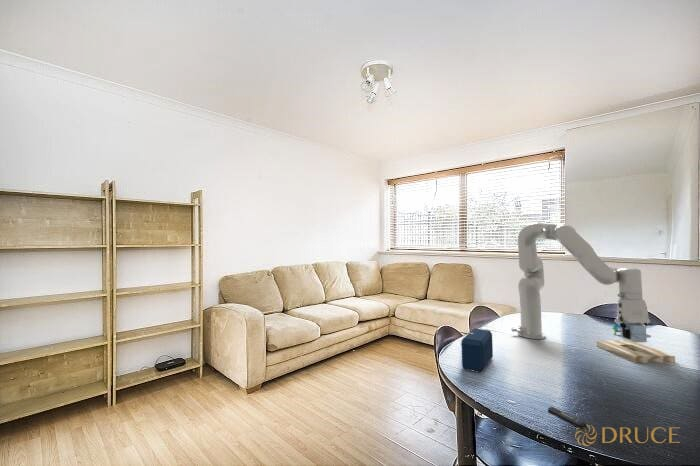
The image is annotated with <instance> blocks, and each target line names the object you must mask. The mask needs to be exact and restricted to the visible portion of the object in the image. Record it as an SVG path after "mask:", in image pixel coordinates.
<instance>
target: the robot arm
mask: <svg viewBox="0 0 700 466" xmlns="http://www.w3.org/2000/svg"><path fill="white" fill-rule="evenodd" d="M517 236H518V237H517V246H518V247H517V248H518V266H519V268H520V269H519V270H520V271H522V272H523V273H524V274H523V275H524V276H523V277H521V278H520V279H519V281H518V293H519V304H520V306H519V309H520V312H519V313H520V325H518V327H512V328H511V331H512V332H514V333H515V332H516V333H517V335H519V336H520V337H522V338H526V339H533V340H542V339H545V338H546V334H545V333H544V332H543V327H542V304H541V303H542V301H541V293H540V292H541V291H542V290H543V288H544V287H545V272H544V263H543V260H542V258H541V257H539V256H538V252H537V251H538V249H537V248H538V247H537V241H536V240H537V239H541V240H552V241H557V242H558V243H560V244H561V245H562V247H564V248H565V249H566V251H568V252H569V253H570V254H571V256H573V257H574V258H575V260H576V261H577V262H578V263H579V264H580V265H581V266H582V267H583V269H584V270H585V271H586V272H588V274H589V275H590V276H592V278H594V279H595V280H596V282H598V283H599V284H602V285H604V286H610V285H613V284H614V283H618V290H619V292H618V293H617V297H619V298H618V300H617V307H616V314H617V316H616V317H615V319H613V320H614V323H615V324H616V323H617V324H618V325H619V326H620V327H621V328H622V332H623V337H624V338H627V339H630V330H629V325H630V323H638V324H642V325H645V326H646V327H647V326H648V324H649V323H651V320H650V318H649V311H648V306H647V303H646V301H645V299H643V297H644V296H643V285H642V284H643V283H642V271H641V270H640V269H639V268H636V267H613V266H609V265H608V264H606V263H605V262H604V260H602V258H600V257H599V255H598V254H597V253H596V252H595V250H594V248H593V247H592V245H591V244H590V243H589V242H588V241H586V240H585V239H584V238H583V237H582V236H581V235H580V234H579V233H578V232H577V231H576V229H575V228H574V226H572V225H570V224H566V223H565V224H556V223H544V222H536V221H535V222H532V223H528V224H527V225H525V226H524V227H522V228H521V230H520V231H519V233H518V235H517ZM625 323H626V325H625ZM624 338H623V339H624ZM627 339H626V340H627Z"/></svg>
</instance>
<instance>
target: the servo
mask: <svg viewBox="0 0 700 466" xmlns="http://www.w3.org/2000/svg"><path fill="white" fill-rule="evenodd" d="M625 325H626V323H625ZM629 330H630V339H627V338H624V337H623V332H622V328H621V327H620V329H617V331H620V332H619V333H620V338H622V339H624V340H629V341H632V342H637V343H647V341H648V339H647V338H651V334H648V333H647V325H646V326H645V325H642V324H638V323H630V325H629Z"/></svg>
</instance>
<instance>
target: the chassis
mask: <svg viewBox="0 0 700 466" xmlns="http://www.w3.org/2000/svg"><path fill="white" fill-rule="evenodd" d="M596 346H597V347H598V348H601V349H602V350H605V351H608V352H610V353H611V354H614V355H616V356H618V357H621V358H623V359H625V360H628V361H630V362H632V363H635V364H636V363H637V364H641V363H642V364H643V363H644V364H645V363H647V364H648V363H650V364H651V363H653V364H654V363H658V364H659V363H661V364H662V363H664V364H665V363H676V356H675V355H673V354H670V353H667V352H665V351H663V350H659V349H657V348H654V347H651V346H648V345H645V344H643V343H641V342H632V341H629V340H627V339H624V340H621V339H620V340H614V339H613V340H610V339H609V340H596Z"/></svg>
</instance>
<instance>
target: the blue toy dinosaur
mask: <svg viewBox="0 0 700 466" xmlns="http://www.w3.org/2000/svg"><path fill="white" fill-rule="evenodd" d="M611 328H612V330H613V331H614V333H613V335H614V336H616V335H617V333H621V332H620V331H617V329H620V326H619V325H618V324H617V323H616V322H615V324H614V325H613V326H612V327H611Z"/></svg>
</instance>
